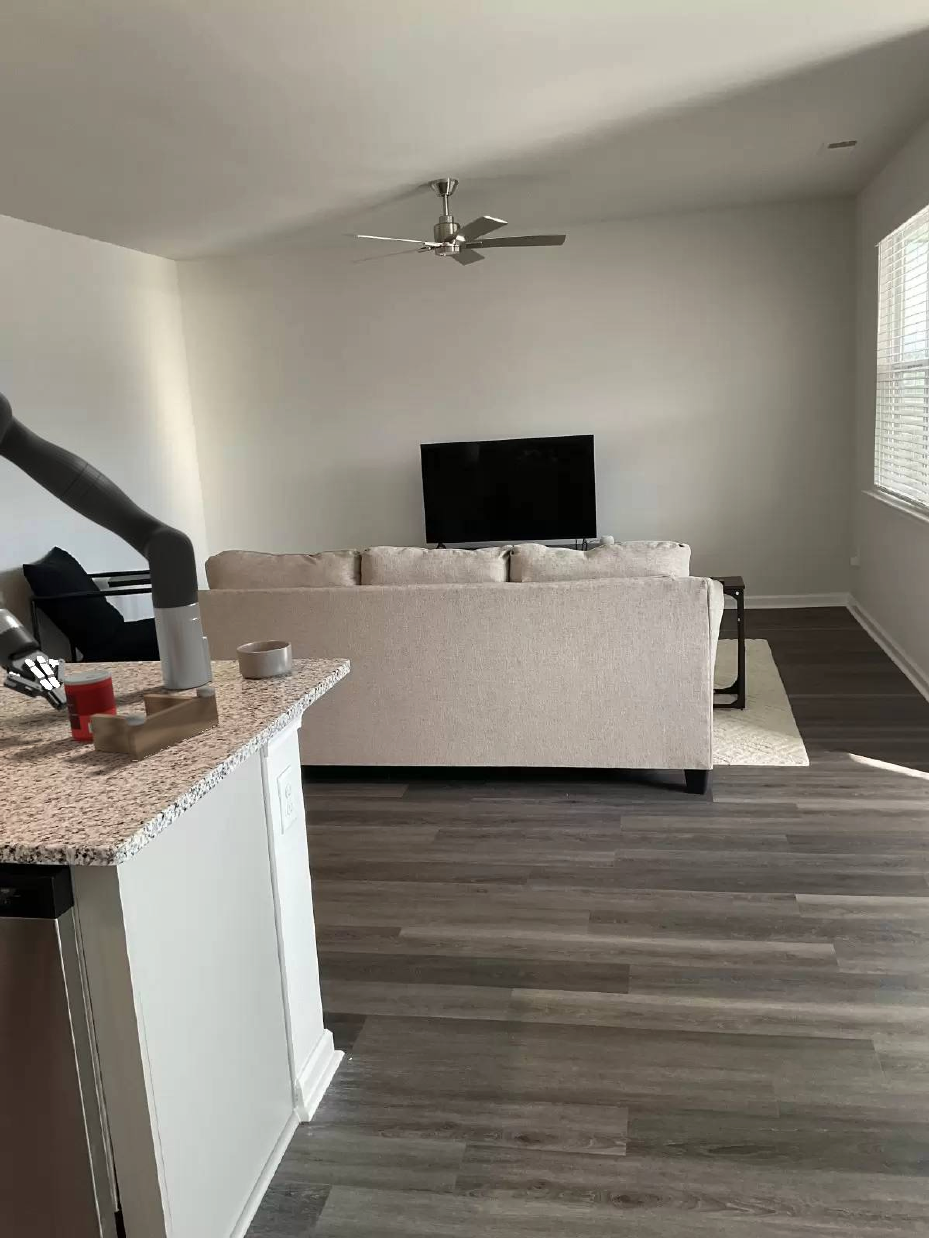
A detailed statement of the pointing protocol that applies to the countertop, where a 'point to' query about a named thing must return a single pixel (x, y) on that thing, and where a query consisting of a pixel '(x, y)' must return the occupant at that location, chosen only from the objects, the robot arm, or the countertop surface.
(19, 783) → the countertop surface
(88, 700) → the canned food
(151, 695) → the bracket
